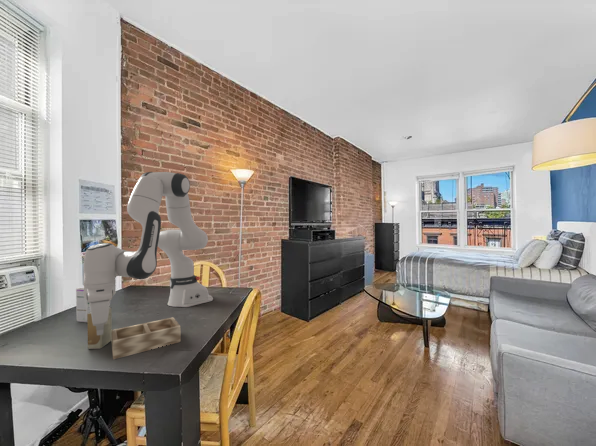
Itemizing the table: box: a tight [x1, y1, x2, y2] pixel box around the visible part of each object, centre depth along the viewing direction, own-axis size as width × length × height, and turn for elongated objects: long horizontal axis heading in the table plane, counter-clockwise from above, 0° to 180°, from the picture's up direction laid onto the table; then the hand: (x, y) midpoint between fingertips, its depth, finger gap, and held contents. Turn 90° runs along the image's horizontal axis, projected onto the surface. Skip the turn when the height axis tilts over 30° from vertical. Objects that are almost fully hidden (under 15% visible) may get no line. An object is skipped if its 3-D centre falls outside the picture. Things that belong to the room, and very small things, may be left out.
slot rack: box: [111, 316, 182, 360], centre depth 90 cm, size 20×11×6 cm, turn 128°
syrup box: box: [75, 286, 91, 323], centre depth 113 cm, size 6×6×14 cm
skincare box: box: [87, 307, 113, 350], centre depth 90 cm, size 6×4×12 cm
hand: (100, 330), depth 90 cm, fingers closed on skincare box, 7 cm apart
